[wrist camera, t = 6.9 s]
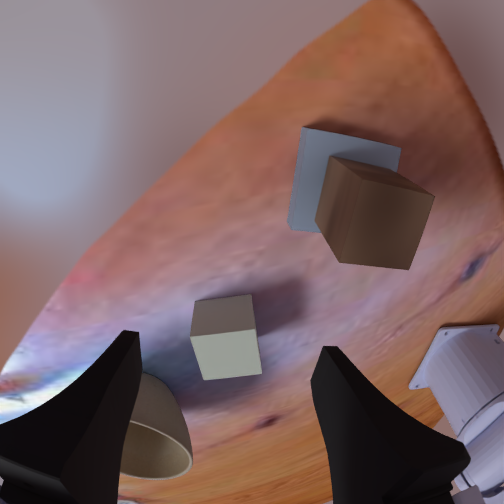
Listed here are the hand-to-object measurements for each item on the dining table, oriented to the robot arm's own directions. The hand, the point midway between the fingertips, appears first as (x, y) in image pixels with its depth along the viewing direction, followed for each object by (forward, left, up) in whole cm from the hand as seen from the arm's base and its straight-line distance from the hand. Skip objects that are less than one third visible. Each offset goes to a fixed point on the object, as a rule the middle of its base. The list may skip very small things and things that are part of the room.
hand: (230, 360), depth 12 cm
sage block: (0, +6, -10) cm, 12 cm away
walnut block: (-7, -5, -8) cm, 12 cm away
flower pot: (+7, +15, -10) cm, 19 cm away
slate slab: (-6, -5, -11) cm, 13 cm away
